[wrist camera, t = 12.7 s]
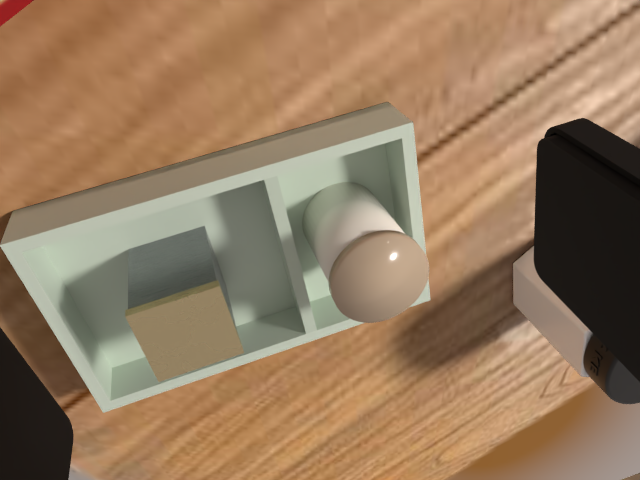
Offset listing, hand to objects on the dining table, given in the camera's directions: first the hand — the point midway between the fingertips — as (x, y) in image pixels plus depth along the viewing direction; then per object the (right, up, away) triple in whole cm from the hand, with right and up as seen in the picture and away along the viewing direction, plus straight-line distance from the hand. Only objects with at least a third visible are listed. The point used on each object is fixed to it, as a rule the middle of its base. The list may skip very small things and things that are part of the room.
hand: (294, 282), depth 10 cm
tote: (-5, 0, +29) cm, 30 cm away
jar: (+21, -2, +39) cm, 44 cm away
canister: (+2, +2, +30) cm, 30 cm away
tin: (-9, -1, +28) cm, 29 cm away
